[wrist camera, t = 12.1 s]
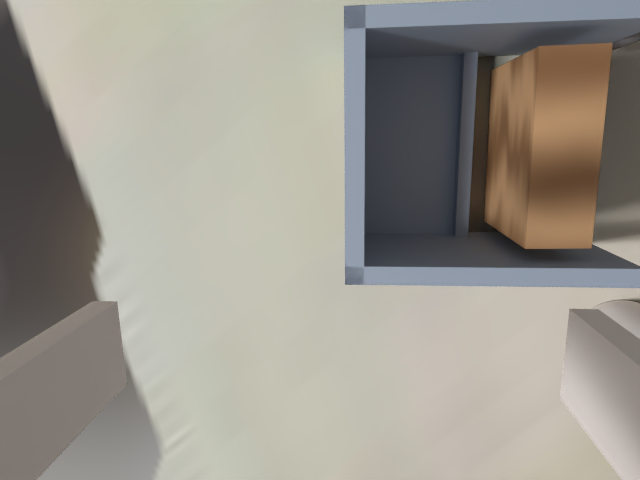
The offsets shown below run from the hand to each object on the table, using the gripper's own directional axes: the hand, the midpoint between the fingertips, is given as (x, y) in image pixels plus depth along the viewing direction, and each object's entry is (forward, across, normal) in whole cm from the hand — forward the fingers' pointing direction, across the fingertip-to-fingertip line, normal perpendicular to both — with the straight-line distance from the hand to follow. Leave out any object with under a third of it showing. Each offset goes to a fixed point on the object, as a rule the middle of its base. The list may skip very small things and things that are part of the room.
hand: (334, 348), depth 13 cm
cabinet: (+27, +10, +5) cm, 29 cm away
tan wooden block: (+27, +13, +5) cm, 30 cm away
